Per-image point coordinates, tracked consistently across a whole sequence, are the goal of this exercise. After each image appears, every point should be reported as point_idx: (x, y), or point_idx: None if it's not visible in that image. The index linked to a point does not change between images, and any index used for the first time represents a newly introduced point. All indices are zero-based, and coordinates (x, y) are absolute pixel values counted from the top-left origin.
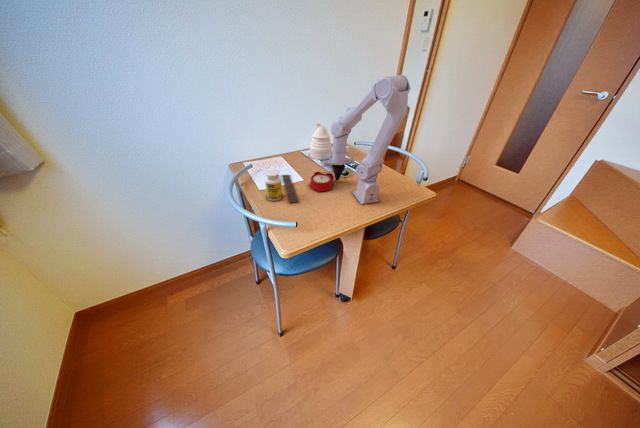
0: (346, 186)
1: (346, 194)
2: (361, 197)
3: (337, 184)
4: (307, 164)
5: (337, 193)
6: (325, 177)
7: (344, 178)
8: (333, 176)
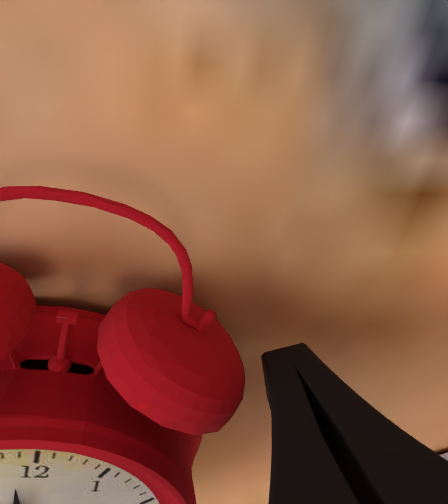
0: None
1: None
2: None
3: None
4: None
5: (230, 498)
6: (94, 498)
7: (410, 222)
8: (242, 392)
